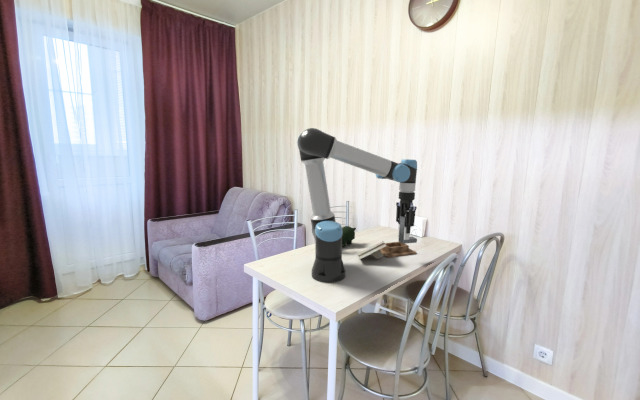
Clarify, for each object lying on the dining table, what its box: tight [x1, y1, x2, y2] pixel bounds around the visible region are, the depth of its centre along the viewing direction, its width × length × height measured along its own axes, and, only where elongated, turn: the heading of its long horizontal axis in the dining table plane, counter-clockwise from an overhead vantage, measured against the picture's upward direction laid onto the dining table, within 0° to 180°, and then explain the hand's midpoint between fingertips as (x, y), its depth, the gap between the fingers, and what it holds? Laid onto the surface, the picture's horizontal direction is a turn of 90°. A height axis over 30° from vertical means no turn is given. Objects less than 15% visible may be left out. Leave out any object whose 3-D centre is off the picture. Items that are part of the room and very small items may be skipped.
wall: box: [357, 241, 386, 260], centre depth 153 cm, size 16×9×15 cm
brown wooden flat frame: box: [380, 241, 417, 259], centre depth 164 cm, size 18×14×4 cm
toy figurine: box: [342, 225, 357, 247], centre depth 173 cm, size 9×19×25 cm
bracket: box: [398, 216, 418, 244], centre depth 148 cm, size 8×4×13 cm, turn 109°
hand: (403, 238), depth 148 cm, fingers closed on bracket, 4 cm apart
